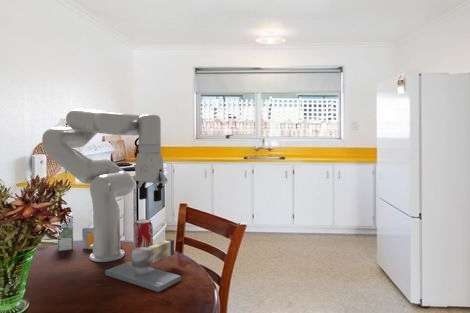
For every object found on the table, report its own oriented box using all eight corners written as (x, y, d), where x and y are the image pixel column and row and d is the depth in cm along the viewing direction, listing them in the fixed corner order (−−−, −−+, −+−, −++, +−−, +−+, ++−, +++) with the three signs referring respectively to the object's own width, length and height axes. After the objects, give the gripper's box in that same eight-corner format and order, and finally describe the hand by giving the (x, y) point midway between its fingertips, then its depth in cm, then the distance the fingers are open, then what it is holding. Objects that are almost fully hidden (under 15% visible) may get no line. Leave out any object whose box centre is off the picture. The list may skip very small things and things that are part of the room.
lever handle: (141, 271, 110) (141, 254, 110) (127, 267, 114) (127, 251, 113) (178, 255, 125) (177, 241, 125) (164, 252, 128) (164, 238, 128)
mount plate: (105, 274, 117) (105, 262, 117) (128, 265, 125) (128, 253, 125) (158, 292, 104) (158, 277, 104) (180, 280, 113) (180, 267, 113)
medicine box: (93, 249, 143) (92, 228, 143) (82, 248, 143) (82, 228, 143) (100, 243, 151) (100, 223, 150) (90, 243, 151) (90, 223, 151)
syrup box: (73, 245, 147) (72, 211, 146) (73, 250, 142) (72, 214, 141) (58, 247, 145) (57, 212, 144) (57, 252, 139) (56, 216, 139)
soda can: (148, 253, 138) (147, 223, 137) (131, 252, 140) (131, 222, 139) (155, 248, 145) (155, 219, 144) (139, 246, 146) (139, 218, 146)
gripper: (124, 149, 125) (125, 199, 127) (160, 150, 116) (160, 204, 117) (140, 148, 132) (140, 196, 133) (175, 150, 123) (175, 201, 124)
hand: (150, 199), depth 125 cm, fingers open, 6 cm apart
